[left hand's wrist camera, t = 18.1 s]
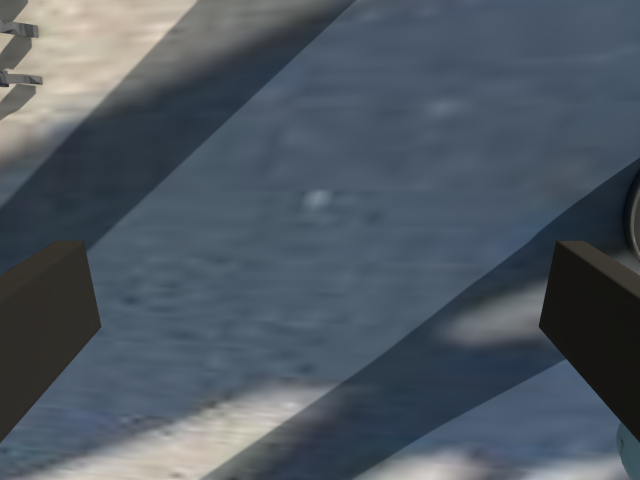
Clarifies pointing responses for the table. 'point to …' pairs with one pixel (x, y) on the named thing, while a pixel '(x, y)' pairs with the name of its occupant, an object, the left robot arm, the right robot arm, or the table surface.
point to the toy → (3, 78)
